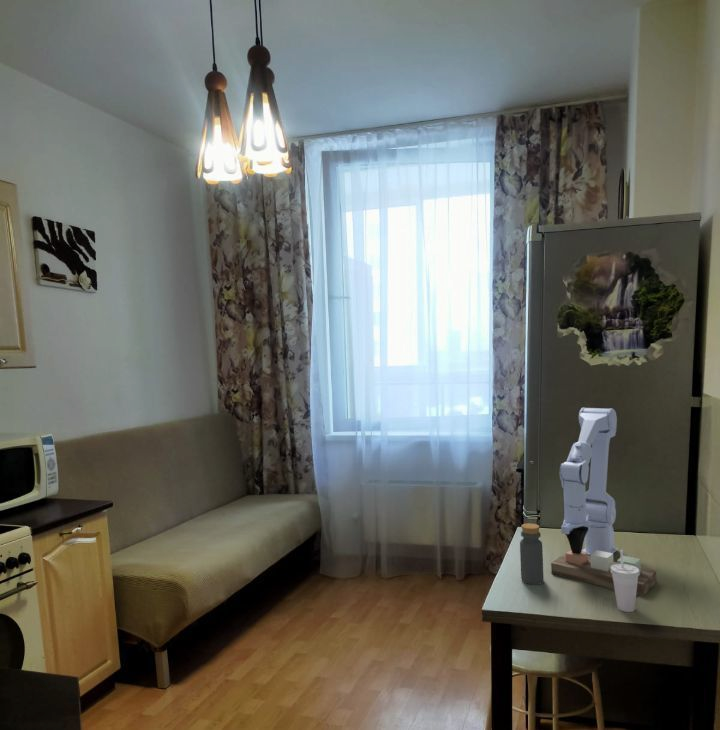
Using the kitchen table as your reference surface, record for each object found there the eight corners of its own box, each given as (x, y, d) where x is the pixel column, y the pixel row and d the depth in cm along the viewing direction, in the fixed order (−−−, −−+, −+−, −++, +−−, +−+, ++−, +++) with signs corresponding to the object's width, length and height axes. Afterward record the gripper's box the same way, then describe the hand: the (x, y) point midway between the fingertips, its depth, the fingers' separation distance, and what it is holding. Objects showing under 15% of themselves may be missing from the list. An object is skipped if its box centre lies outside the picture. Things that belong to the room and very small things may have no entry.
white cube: (597, 564, 158) (596, 550, 158) (613, 568, 155) (613, 553, 155) (591, 569, 155) (590, 554, 155) (607, 573, 152) (607, 558, 152)
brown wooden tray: (568, 562, 167) (567, 551, 167) (656, 582, 151) (656, 570, 151) (551, 573, 159) (551, 562, 159) (643, 596, 143) (642, 584, 143)
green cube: (623, 570, 153) (623, 555, 153) (641, 574, 150) (640, 559, 150) (617, 575, 150) (617, 560, 150) (635, 579, 147) (635, 563, 147)
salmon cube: (572, 562, 163) (572, 548, 163) (588, 566, 160) (587, 552, 160) (566, 567, 160) (565, 553, 160) (581, 571, 157) (581, 556, 157)
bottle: (533, 586, 151) (531, 530, 151) (516, 579, 156) (514, 525, 156) (548, 581, 154) (546, 526, 154) (530, 574, 159) (529, 521, 159)
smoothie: (615, 600, 141) (613, 544, 141) (643, 606, 137) (642, 549, 137) (608, 610, 136) (606, 551, 136) (637, 617, 132) (635, 557, 132)
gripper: (578, 513, 151) (580, 563, 152) (599, 501, 162) (600, 548, 162) (553, 508, 156) (554, 558, 156) (574, 497, 167) (576, 543, 167)
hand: (576, 552), depth 160 cm, fingers closed, pressing on salmon cube
